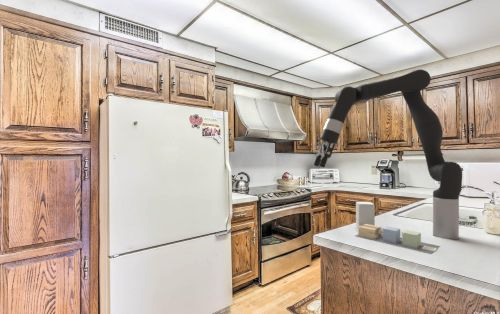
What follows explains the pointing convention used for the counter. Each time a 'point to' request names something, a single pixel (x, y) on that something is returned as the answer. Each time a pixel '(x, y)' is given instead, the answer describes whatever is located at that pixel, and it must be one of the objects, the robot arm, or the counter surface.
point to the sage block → (411, 238)
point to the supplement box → (365, 213)
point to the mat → (399, 244)
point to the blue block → (391, 234)
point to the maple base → (370, 231)
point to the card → (429, 248)
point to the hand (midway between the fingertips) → (318, 166)
